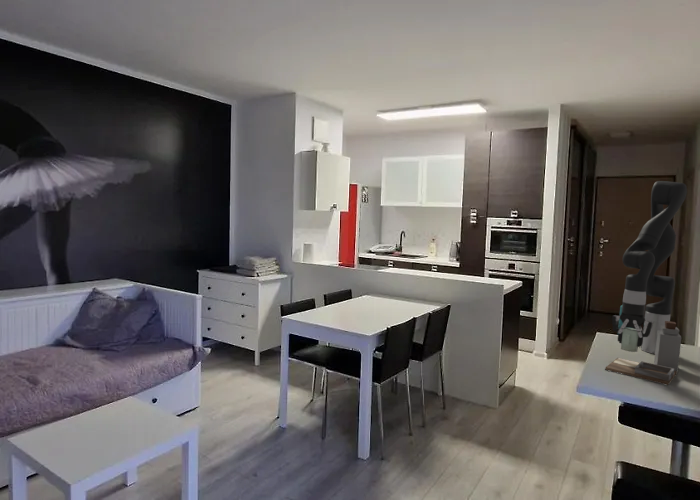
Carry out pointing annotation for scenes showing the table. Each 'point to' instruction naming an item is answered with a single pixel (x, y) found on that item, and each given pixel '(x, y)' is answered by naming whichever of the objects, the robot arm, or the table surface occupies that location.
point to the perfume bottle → (668, 346)
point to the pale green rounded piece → (629, 340)
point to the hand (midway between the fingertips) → (629, 344)
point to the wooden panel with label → (643, 370)
